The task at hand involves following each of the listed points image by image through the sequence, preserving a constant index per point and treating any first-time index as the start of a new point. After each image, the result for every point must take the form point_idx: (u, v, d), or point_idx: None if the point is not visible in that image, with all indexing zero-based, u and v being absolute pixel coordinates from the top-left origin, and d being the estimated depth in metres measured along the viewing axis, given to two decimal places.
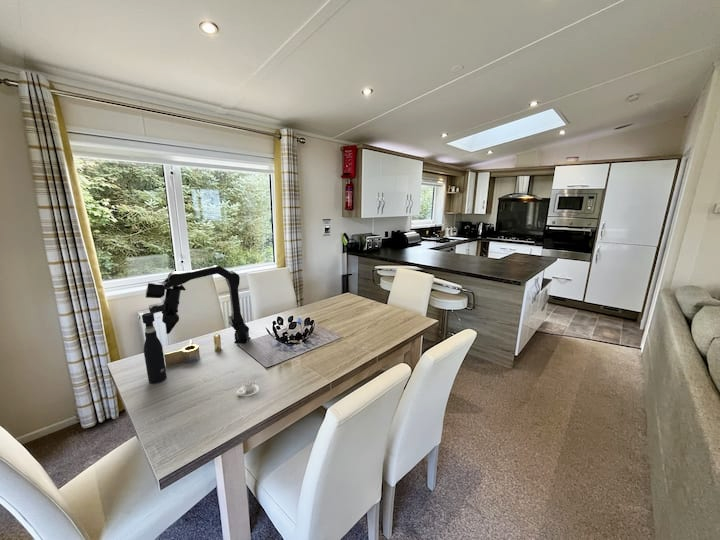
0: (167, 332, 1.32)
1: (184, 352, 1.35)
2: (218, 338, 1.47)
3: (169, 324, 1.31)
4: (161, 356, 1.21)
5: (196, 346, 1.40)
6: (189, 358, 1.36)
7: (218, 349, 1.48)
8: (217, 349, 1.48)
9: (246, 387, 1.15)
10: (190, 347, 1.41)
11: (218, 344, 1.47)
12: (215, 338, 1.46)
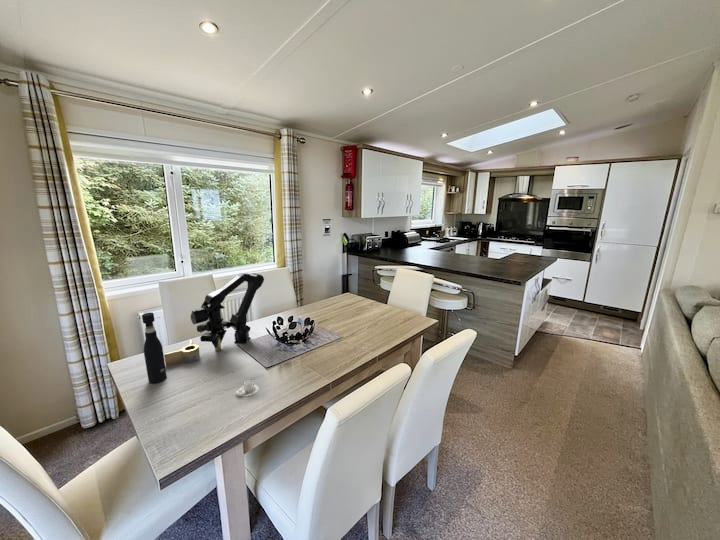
0: (215, 346, 1.46)
1: (184, 352, 1.35)
2: None
3: (213, 340, 1.45)
4: (161, 356, 1.21)
5: (196, 346, 1.40)
6: (189, 358, 1.36)
7: (218, 349, 1.48)
8: (217, 349, 1.48)
9: (246, 387, 1.15)
10: (190, 347, 1.41)
11: (218, 344, 1.47)
12: None
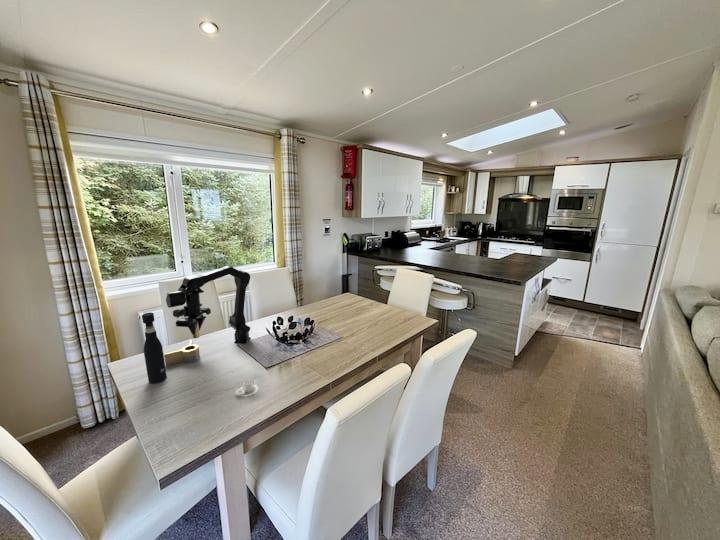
0: (192, 333, 1.37)
1: (184, 352, 1.35)
2: None
3: (191, 326, 1.36)
4: (161, 356, 1.21)
5: (196, 346, 1.40)
6: (189, 358, 1.36)
7: (196, 336, 1.38)
8: (195, 336, 1.38)
9: (245, 387, 1.15)
10: (190, 347, 1.41)
11: (196, 331, 1.38)
12: None
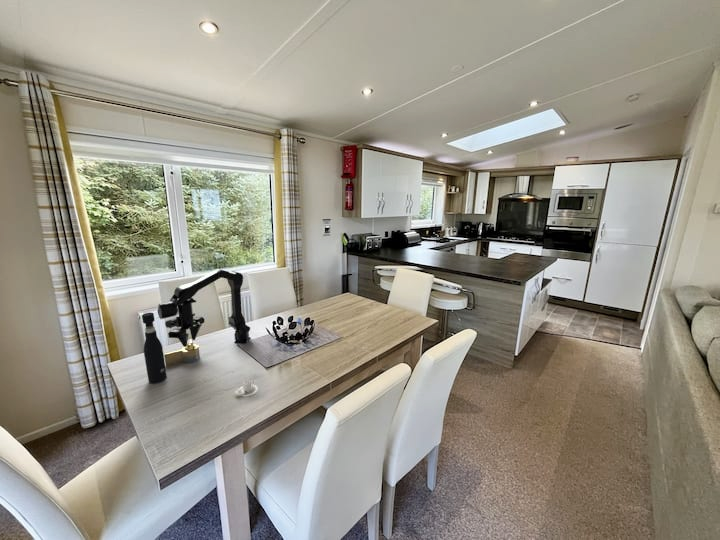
0: (183, 345, 1.34)
1: (184, 352, 1.35)
2: (191, 347, 1.37)
3: (181, 338, 1.32)
4: (161, 356, 1.21)
5: (196, 346, 1.40)
6: (189, 358, 1.36)
7: None
8: None
9: (245, 387, 1.15)
10: None
11: None
12: (187, 347, 1.37)
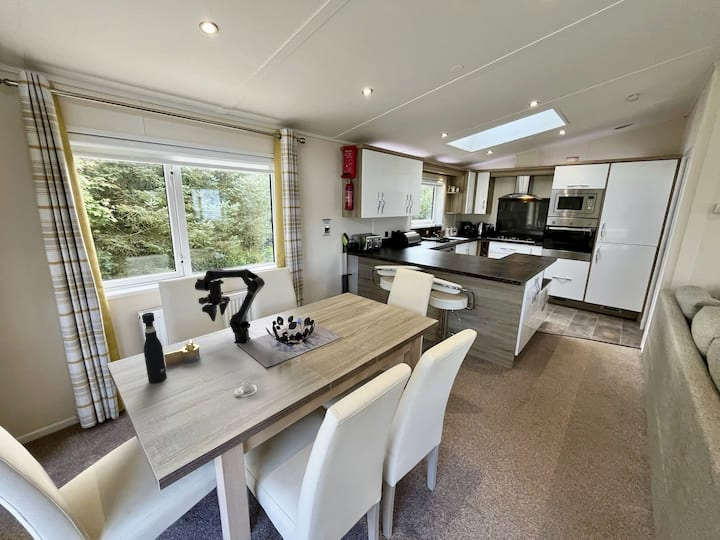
0: (212, 320, 1.54)
1: (184, 352, 1.35)
2: (191, 347, 1.37)
3: (211, 314, 1.53)
4: (161, 356, 1.21)
5: (196, 346, 1.40)
6: (189, 358, 1.36)
7: None
8: None
9: (244, 387, 1.15)
10: None
11: None
12: (187, 347, 1.37)
